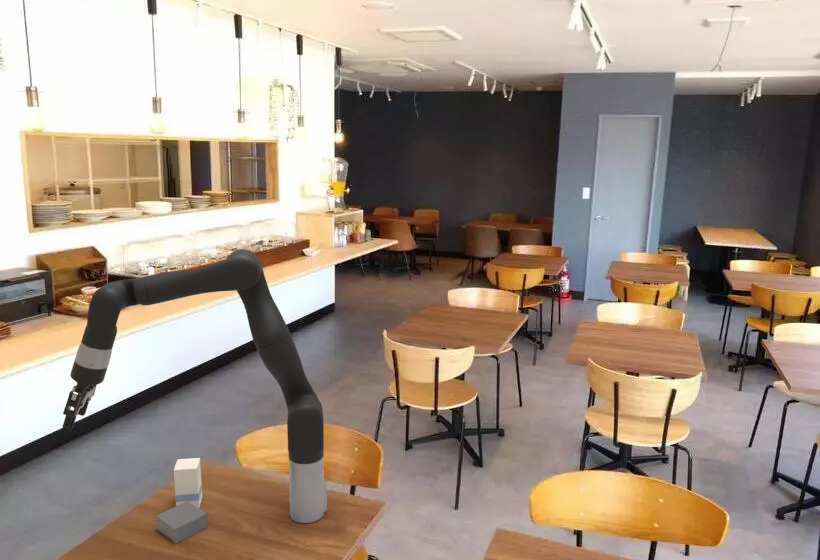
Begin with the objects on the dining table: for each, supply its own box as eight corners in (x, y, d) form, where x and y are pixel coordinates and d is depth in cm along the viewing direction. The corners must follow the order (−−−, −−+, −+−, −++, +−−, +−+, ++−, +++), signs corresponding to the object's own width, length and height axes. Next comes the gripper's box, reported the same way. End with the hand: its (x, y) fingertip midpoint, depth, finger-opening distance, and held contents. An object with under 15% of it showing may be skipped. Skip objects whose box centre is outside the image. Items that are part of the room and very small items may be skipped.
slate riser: (188, 514, 171) (187, 501, 170) (207, 527, 166) (206, 513, 165) (157, 529, 164) (156, 515, 164) (175, 543, 159) (174, 529, 158)
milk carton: (180, 498, 179) (177, 459, 176) (202, 496, 180) (200, 457, 177) (176, 510, 173) (173, 470, 170) (199, 508, 174) (197, 468, 172)
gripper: (98, 375, 148) (79, 437, 150) (116, 356, 162) (98, 413, 164) (64, 366, 146) (46, 429, 149) (86, 348, 160) (68, 406, 162)
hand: (73, 421), depth 156 cm, fingers open, 8 cm apart
